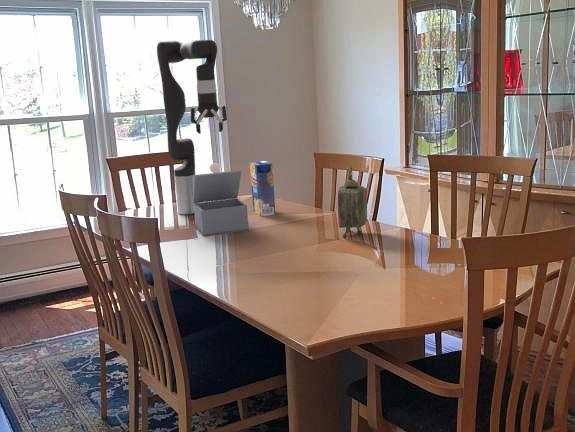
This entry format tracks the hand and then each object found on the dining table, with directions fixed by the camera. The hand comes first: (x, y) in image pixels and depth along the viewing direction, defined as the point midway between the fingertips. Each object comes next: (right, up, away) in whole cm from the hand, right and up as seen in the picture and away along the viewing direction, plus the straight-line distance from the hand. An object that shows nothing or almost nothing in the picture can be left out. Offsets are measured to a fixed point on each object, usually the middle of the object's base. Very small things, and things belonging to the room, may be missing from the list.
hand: (209, 132), depth 262 cm
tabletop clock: (+56, -41, -23) cm, 73 cm away
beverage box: (+21, -32, +22) cm, 44 cm away
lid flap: (+3, -22, -3) cm, 23 cm away
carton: (+5, -39, -3) cm, 39 cm away
